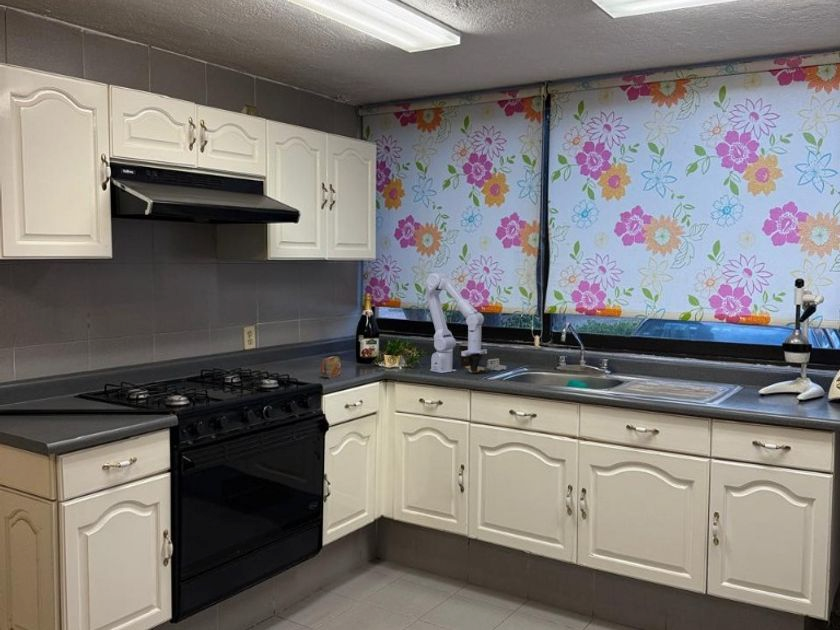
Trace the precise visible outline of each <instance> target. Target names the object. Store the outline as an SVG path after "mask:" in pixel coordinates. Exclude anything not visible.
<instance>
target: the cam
mask: <svg viewBox="0 0 840 630" xmlns="http://www.w3.org/2000/svg"><path fill="white" fill-rule="evenodd" d="M464 368H465V369H468V371H469V373H480V372H479V371H480V370H481V371H484V372H488V371H489V370H488V367H487V366H486V367H484V366H479V365H478V368H477V371H475V372H474V371H471V367H470V366H465V367H464Z"/></svg>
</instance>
